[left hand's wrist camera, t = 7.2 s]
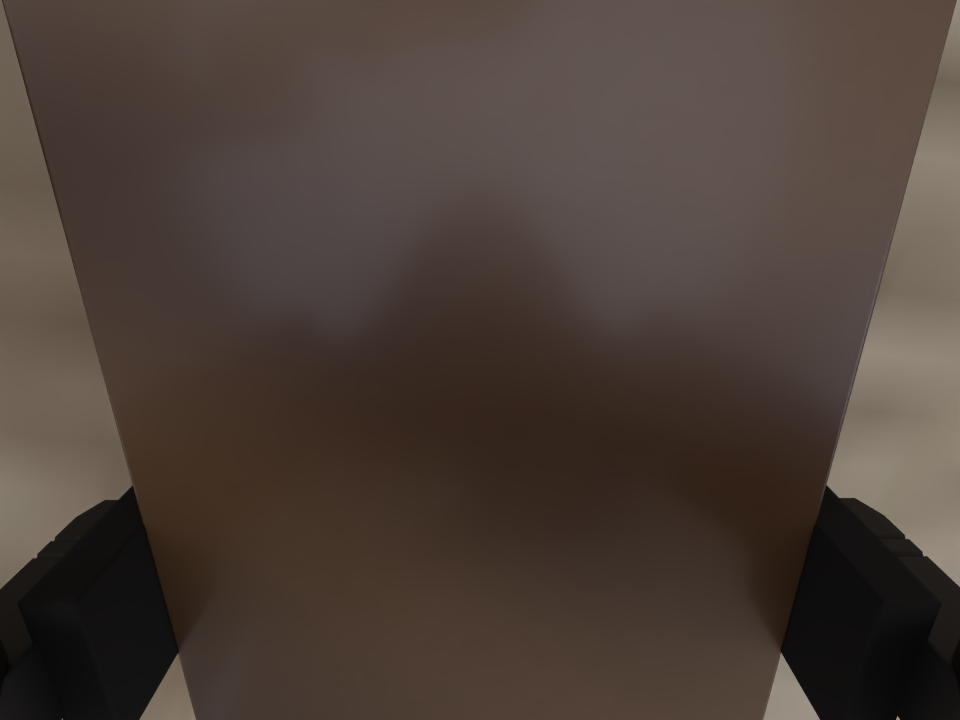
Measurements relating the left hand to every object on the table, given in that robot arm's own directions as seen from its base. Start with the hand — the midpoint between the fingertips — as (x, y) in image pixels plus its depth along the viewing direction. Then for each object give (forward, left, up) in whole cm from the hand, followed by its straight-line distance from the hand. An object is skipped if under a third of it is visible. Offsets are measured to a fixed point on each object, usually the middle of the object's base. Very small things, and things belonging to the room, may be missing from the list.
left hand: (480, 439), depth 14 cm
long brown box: (0, +5, -6) cm, 8 cm away
